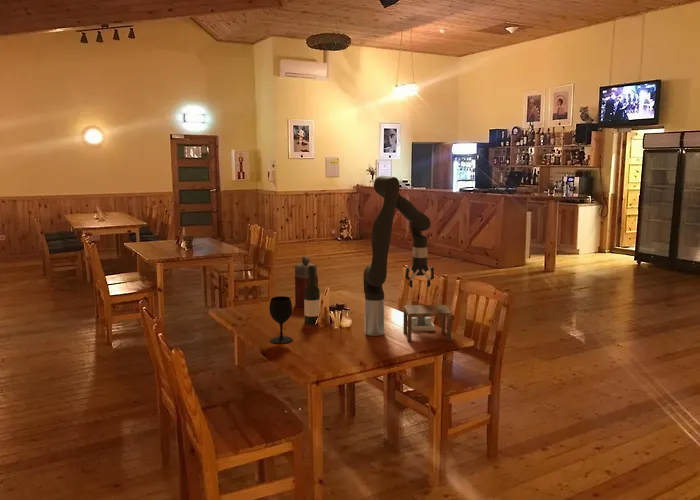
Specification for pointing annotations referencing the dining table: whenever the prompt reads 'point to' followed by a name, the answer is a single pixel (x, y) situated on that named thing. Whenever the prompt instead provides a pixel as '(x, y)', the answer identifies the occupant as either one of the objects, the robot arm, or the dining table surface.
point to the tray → (422, 324)
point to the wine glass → (281, 316)
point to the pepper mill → (302, 280)
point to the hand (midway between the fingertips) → (419, 287)
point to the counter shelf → (427, 312)
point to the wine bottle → (311, 298)
